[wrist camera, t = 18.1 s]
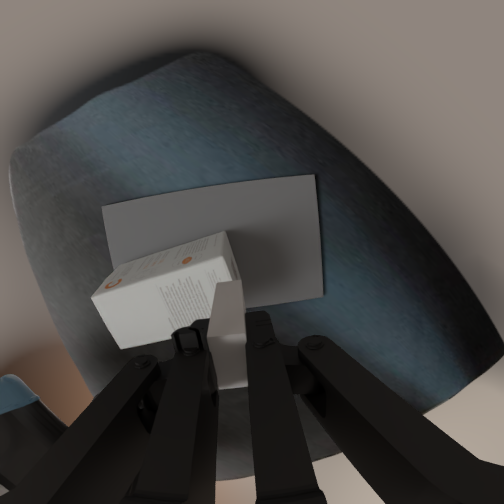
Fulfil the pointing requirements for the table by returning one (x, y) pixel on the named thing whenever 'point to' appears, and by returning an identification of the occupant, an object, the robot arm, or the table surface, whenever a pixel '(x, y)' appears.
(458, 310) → the table surface
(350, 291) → the table surface
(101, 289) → the small box
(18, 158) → the table surface
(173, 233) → the mat
